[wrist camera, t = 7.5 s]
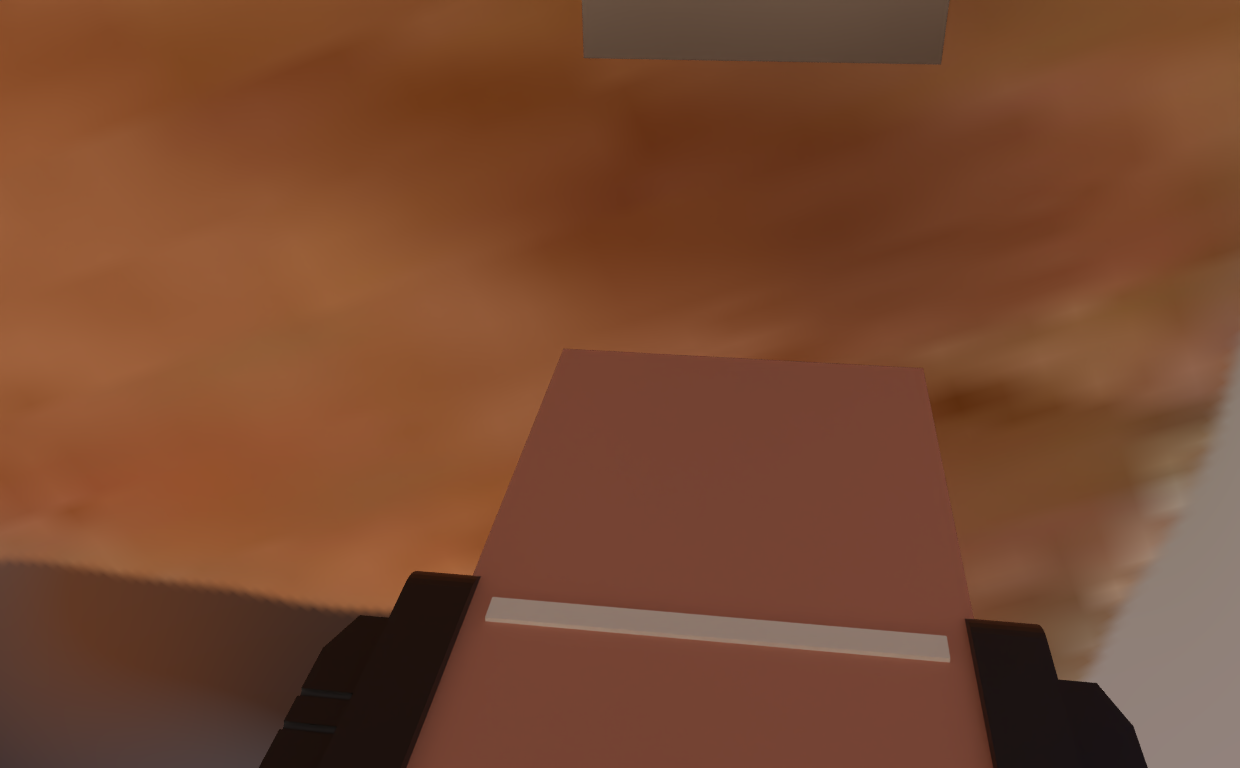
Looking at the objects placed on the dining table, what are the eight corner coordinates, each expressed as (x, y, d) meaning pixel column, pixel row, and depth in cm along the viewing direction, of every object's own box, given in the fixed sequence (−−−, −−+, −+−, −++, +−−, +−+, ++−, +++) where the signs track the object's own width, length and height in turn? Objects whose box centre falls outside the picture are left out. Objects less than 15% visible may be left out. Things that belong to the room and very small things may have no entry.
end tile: (563, 346, 15) (188, 1273, 6) (923, 365, 15) (1142, 1441, 5) (569, 467, 16) (259, 1420, 7) (905, 491, 16) (1063, 1577, 6)
